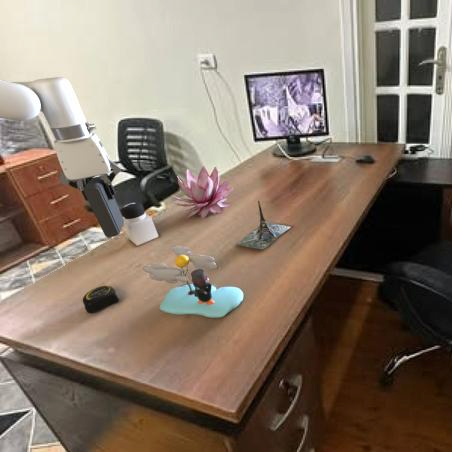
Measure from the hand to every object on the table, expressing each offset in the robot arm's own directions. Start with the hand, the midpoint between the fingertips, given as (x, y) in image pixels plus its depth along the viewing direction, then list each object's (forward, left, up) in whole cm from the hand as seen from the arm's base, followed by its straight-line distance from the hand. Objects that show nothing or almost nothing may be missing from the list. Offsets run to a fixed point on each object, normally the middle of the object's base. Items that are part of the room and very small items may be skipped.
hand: (102, 199), depth 94 cm
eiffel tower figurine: (+39, -10, -20) cm, 45 cm away
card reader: (0, 0, -10) cm, 10 cm away
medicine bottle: (+4, +12, -20) cm, 24 cm away
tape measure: (-5, -20, -20) cm, 29 cm away
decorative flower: (+26, +20, -20) cm, 39 cm away
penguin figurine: (+17, -33, -20) cm, 42 cm away
